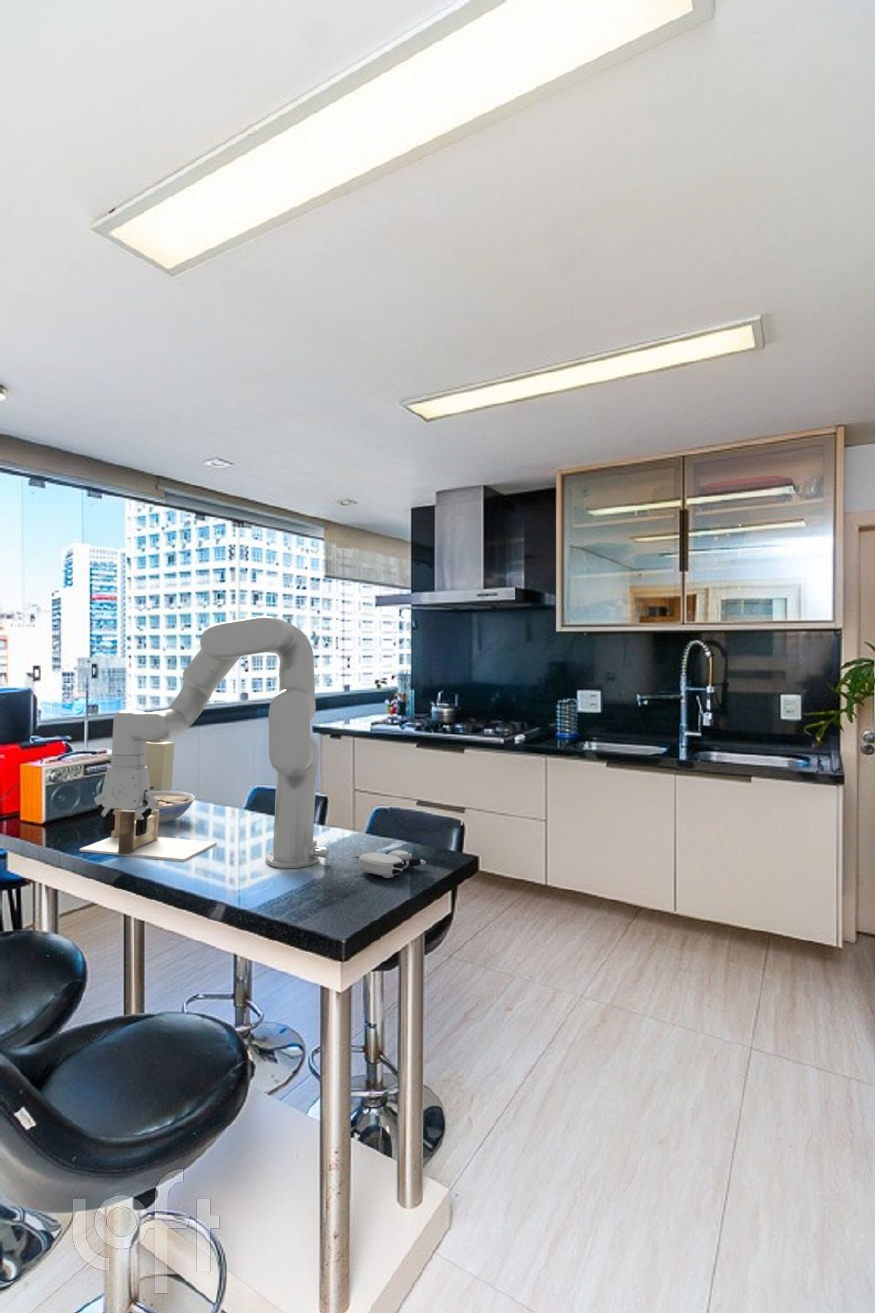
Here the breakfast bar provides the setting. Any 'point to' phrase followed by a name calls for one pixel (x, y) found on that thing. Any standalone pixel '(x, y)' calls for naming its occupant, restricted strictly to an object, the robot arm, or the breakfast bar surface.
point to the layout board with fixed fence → (151, 844)
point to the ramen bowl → (171, 804)
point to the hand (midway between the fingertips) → (124, 833)
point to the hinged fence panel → (133, 832)
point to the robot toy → (387, 862)
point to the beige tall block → (160, 765)
